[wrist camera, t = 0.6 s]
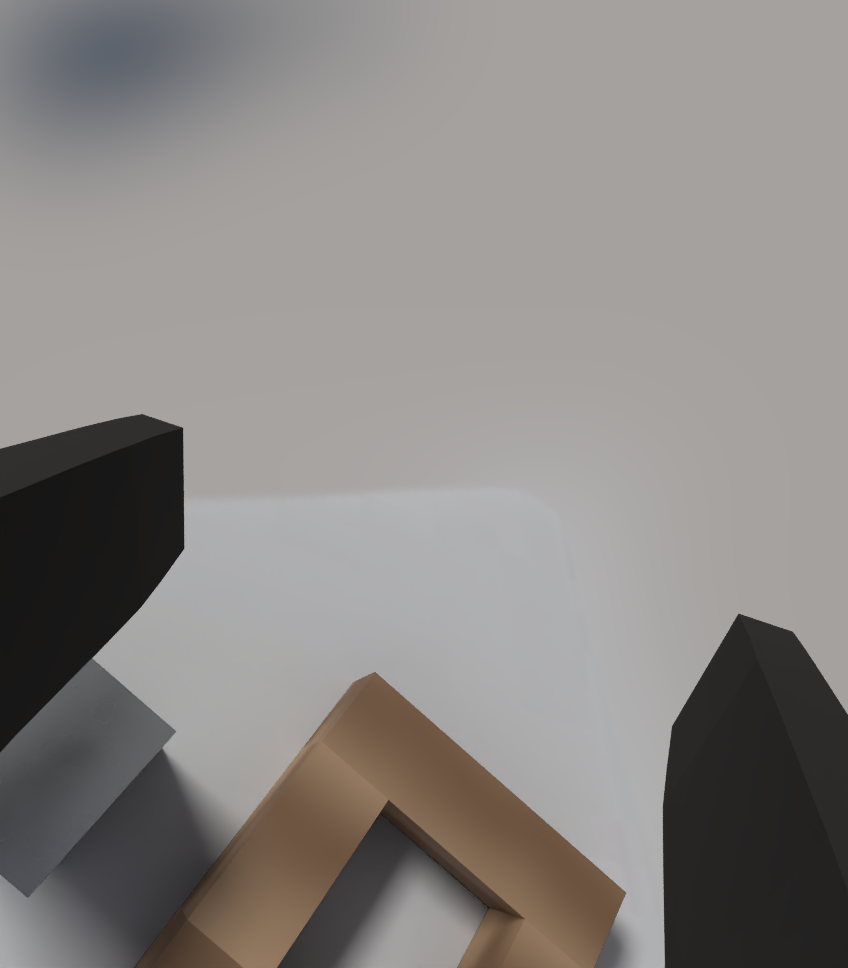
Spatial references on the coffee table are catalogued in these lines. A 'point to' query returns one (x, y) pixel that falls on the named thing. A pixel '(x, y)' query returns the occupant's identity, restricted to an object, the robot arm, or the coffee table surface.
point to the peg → (70, 771)
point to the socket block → (419, 815)
